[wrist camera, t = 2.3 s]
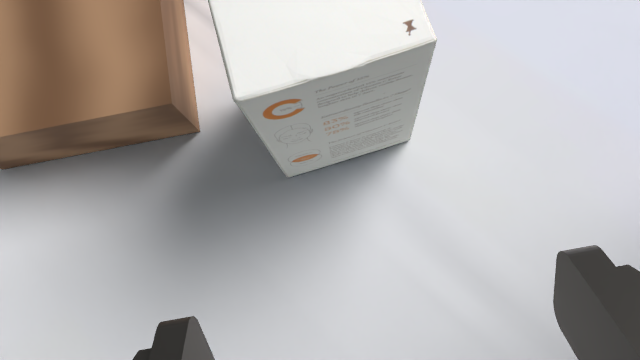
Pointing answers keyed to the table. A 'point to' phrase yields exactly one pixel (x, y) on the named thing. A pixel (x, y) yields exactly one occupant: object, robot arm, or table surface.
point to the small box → (325, 74)
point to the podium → (91, 76)
